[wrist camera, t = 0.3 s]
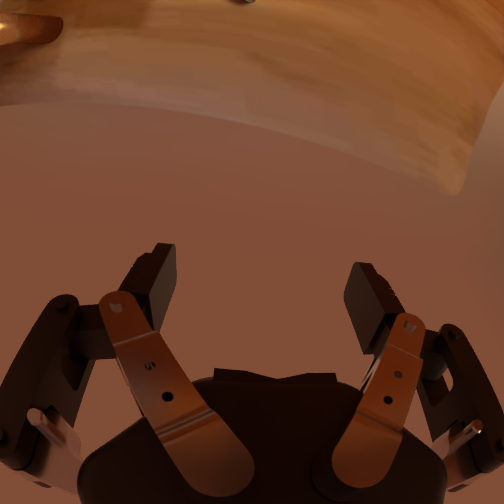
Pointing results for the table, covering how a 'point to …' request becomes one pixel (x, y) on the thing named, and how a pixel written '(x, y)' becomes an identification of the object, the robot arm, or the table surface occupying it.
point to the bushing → (29, 28)
